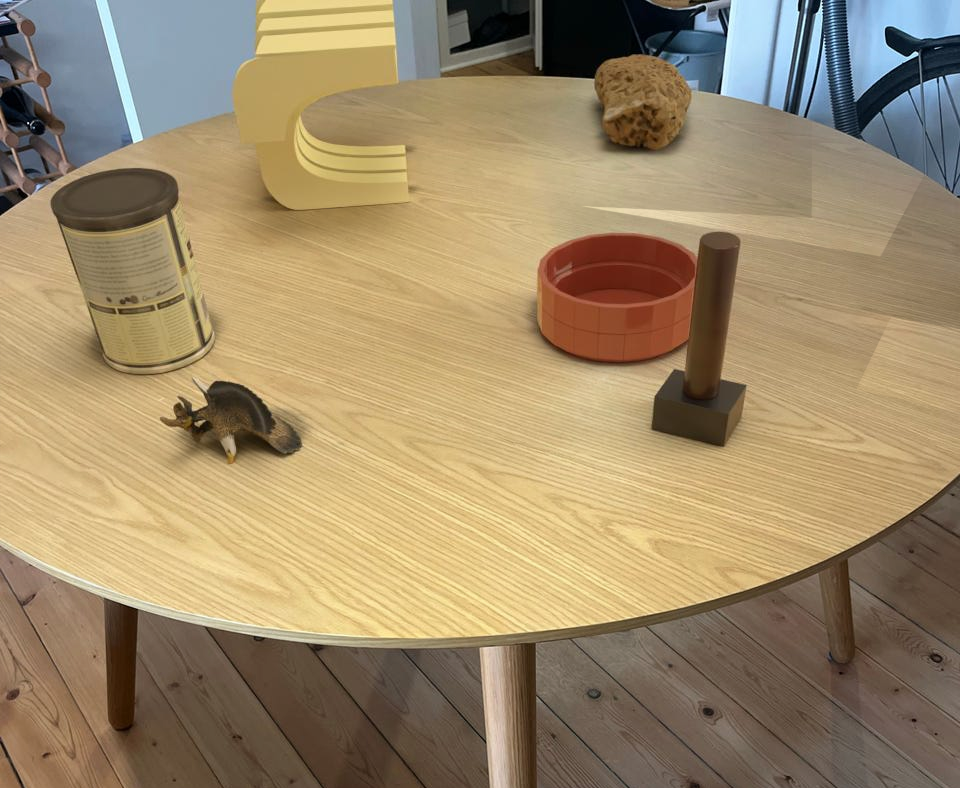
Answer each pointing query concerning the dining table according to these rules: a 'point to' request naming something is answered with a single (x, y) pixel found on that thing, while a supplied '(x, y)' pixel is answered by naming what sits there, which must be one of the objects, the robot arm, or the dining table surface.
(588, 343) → the bowl
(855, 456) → the dining table surface
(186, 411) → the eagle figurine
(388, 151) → the slatted curved stool
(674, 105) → the sponge
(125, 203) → the coffee can
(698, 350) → the hammer
